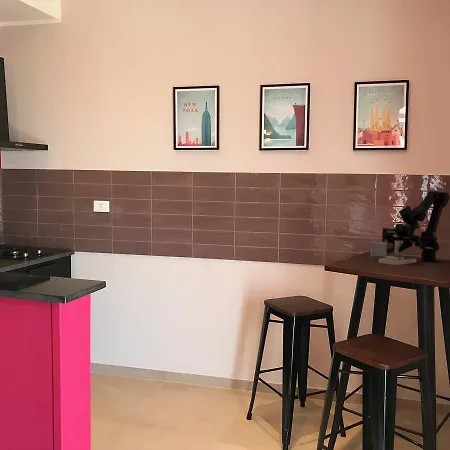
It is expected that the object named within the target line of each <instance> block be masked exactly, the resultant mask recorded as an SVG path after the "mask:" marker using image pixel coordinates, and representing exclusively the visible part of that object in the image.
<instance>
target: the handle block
mask: <svg viewBox="0 0 450 450" xmlns="http://www.w3.org/2000/svg"><path fill="white" fill-rule="evenodd" d="M401 245H402V241H395V248H394V256H386V257H384V258H385V259H386V260H393V261H398V260H405V256H401V252H398V250H399V248H400V247H401Z"/></svg>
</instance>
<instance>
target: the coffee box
mask: <svg viewBox="0 0 450 450" xmlns="http://www.w3.org/2000/svg"><path fill="white" fill-rule="evenodd" d="M381 229H382V230H381V239H380V242H384V243H387V251H386V256H394V252H393V251H392V248H393V243H389V242H388V241H387V239H386V238H385V236H384V235H385V234H386V232H390V233H394V235H398V234H397V231H396V230H395V227H394V228H390V227H382V228H381ZM398 236H399V235H398Z"/></svg>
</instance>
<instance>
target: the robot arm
mask: <svg viewBox="0 0 450 450" xmlns="http://www.w3.org/2000/svg"><path fill="white" fill-rule="evenodd" d="M449 201H450V194H449V193H448V192H446V191H436V190H429V191H427V194H426V195H425V197H424V198H423V199H422V201H421V202H420V203H419V204H418V206H415V207H413V208H412V207H411V206H410V205H409V206H408V205H407V206H405V207H404V208H402V209H400V210H399V215H400V218H401V220H402V221H403V223H405V224H403V223H395V226H394V229H395V230H396V231H397V234H398V235H399V236H398V235H394V233H390V232H386V234H385V235H384V236H385V238H386V239H387V241H388V242H389V243H393V248H392V251H393V252H394V248H395V241H401V247H400V248H399V250H398V252H400V253H401V252H404V251H405V250H406V249H410V248H411V247H413V245H414V247H419V249H420V250H422V251H421V255H420V256H421V257H420V261H423V262H429V263H430V262H431V263H433V262H435V263H436V262H438V260H436V259H437V258H436V257H437V255H436V254H437V252H438V251H439V250H440V245H439V242H438V237H437V234H436V233H437V230H438V227H439V226H438V225H439V223H440V222H439V221H440V218H441V214H442V212H443V209H444V208H445V207H446V206H447V205H448V203H449ZM431 206H432V209H431V213H430V215H429V216H430V217H429V220H428V223H427V227H426V230H425V231H422V232H421V234H420V235H417V234H416V235H415V231H416V230H417V229H420V225H419V223H418V222H424V220H425V219H426V217H427V212H428V210H429V209H430V207H431Z"/></svg>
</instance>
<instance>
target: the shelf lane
mask: <svg viewBox="0 0 450 450" xmlns="http://www.w3.org/2000/svg"><path fill="white" fill-rule="evenodd" d="M379 263H380V264H385V265H390V266H391V265H392V266H401V265H409V264H414V263H417V258H408V259H404V260H398V261H393V260H386V259H385V257H382V258H378V264H379Z"/></svg>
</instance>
